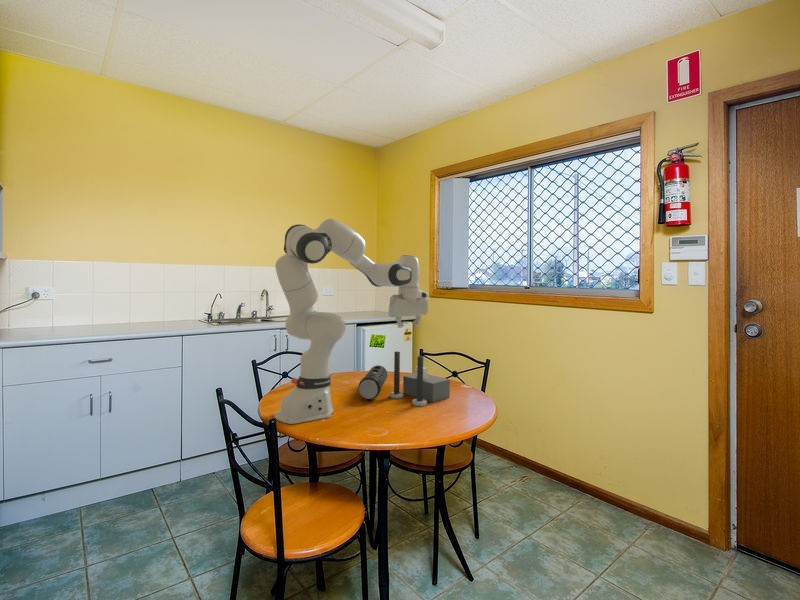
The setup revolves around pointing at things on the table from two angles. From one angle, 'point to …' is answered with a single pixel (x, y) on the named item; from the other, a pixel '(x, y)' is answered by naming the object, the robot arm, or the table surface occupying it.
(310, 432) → the table surface
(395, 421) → the table surface
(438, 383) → the box
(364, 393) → the muzzle brake
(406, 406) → the table surface
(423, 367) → the breaker switch
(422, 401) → the right cord post
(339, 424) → the table surface
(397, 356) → the post
